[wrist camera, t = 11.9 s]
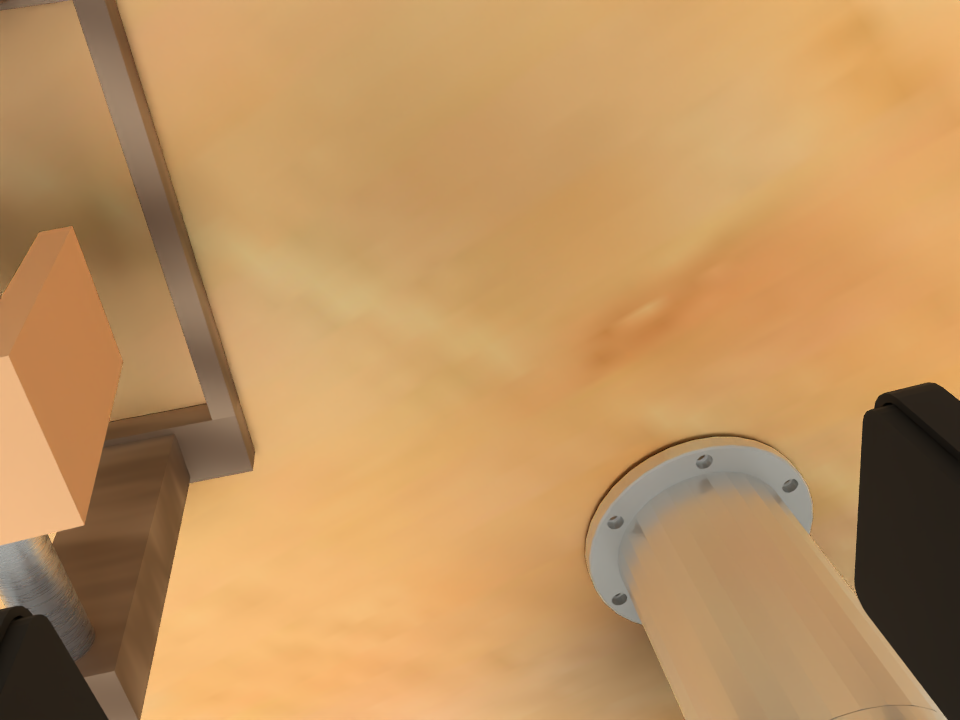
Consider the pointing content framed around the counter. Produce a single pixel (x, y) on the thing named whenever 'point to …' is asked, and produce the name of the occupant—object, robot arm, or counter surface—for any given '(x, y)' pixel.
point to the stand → (145, 417)
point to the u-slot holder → (52, 389)
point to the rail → (45, 591)
